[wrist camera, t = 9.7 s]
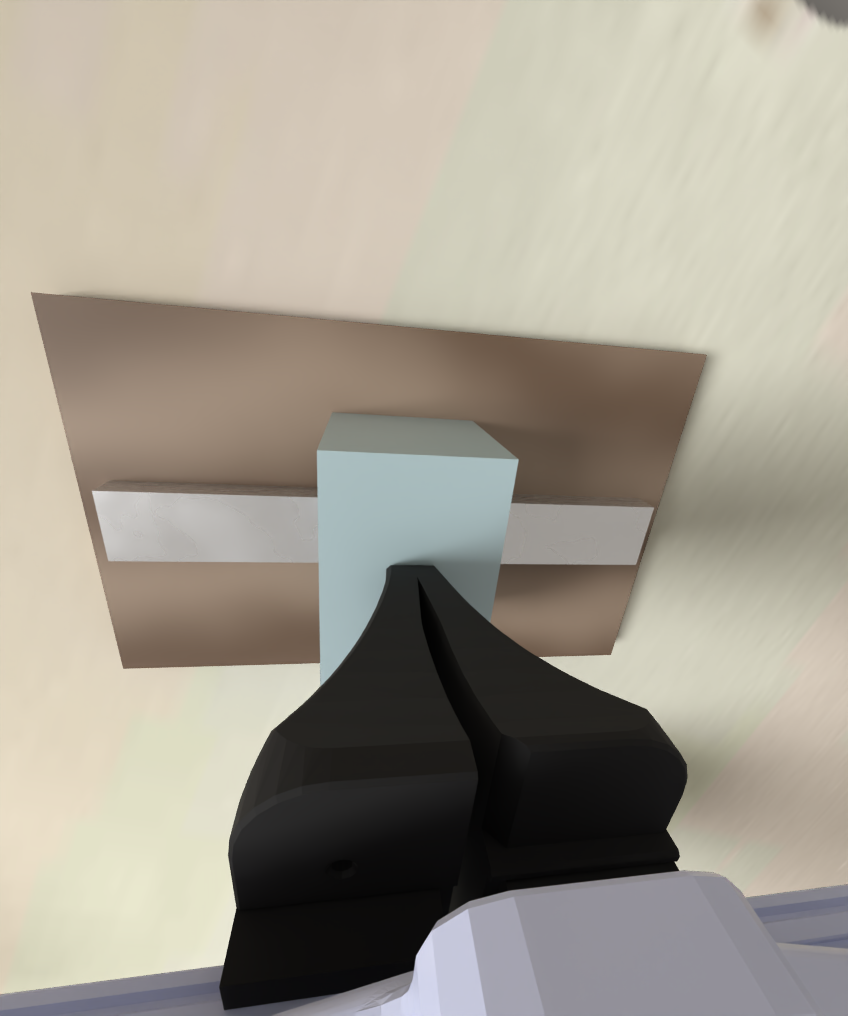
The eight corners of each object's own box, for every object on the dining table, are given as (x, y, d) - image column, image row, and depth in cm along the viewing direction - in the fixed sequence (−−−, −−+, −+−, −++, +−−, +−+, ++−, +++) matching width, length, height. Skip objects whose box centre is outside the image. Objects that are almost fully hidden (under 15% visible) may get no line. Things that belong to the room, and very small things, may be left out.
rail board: (600, 641, 22) (622, 669, 20) (135, 651, 18) (109, 687, 16) (687, 353, 16) (728, 356, 14) (54, 295, 13) (3, 289, 11)
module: (449, 604, 18) (481, 710, 13) (332, 605, 17) (318, 718, 12) (472, 420, 15) (526, 466, 10) (332, 412, 14) (314, 457, 9)
